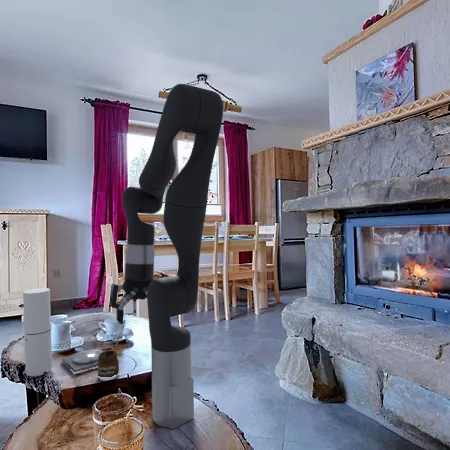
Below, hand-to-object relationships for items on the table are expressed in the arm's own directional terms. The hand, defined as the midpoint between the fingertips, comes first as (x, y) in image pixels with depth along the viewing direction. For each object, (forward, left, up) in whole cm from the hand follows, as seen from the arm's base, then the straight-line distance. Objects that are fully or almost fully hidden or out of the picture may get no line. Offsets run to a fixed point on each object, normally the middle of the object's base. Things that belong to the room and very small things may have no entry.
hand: (137, 321), depth 90 cm
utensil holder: (+14, +2, -20) cm, 24 cm away
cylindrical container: (+33, +16, -19) cm, 41 cm away
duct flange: (+28, +3, -19) cm, 34 cm away
